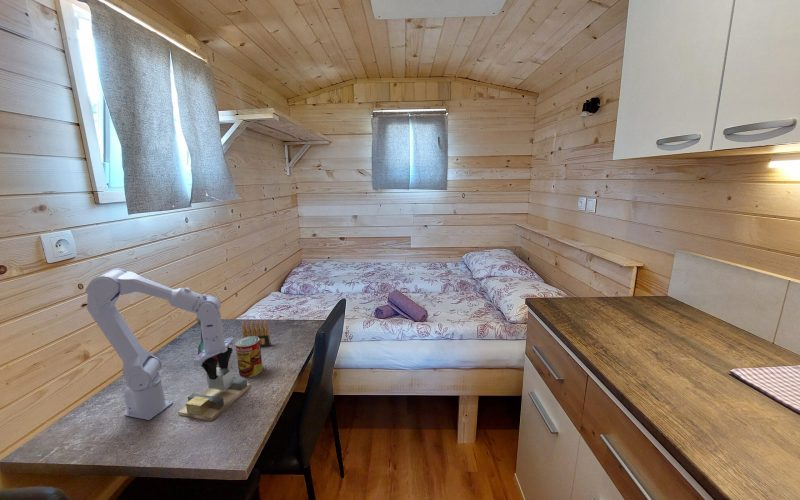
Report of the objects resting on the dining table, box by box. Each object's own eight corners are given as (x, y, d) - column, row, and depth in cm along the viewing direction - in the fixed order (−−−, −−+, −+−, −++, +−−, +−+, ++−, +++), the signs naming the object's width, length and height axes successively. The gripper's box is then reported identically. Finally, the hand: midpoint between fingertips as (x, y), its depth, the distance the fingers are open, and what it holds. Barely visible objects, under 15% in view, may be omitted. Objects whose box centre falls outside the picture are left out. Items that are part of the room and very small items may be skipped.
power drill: (205, 373, 121) (198, 321, 117) (196, 356, 133) (189, 309, 129) (227, 365, 126) (220, 316, 122) (216, 350, 138) (210, 304, 134)
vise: (178, 414, 100) (176, 404, 99) (220, 381, 116) (219, 372, 115) (212, 420, 97) (210, 410, 96) (250, 386, 113) (249, 377, 112)
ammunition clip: (270, 344, 142) (268, 318, 140) (269, 346, 141) (267, 319, 138) (244, 346, 141) (241, 319, 138) (243, 348, 139) (239, 321, 137)
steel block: (224, 390, 105) (222, 376, 104) (208, 387, 106) (206, 373, 105) (233, 383, 109) (232, 369, 108) (217, 380, 110) (216, 366, 109)
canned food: (234, 375, 120) (230, 344, 117) (250, 364, 127) (247, 334, 125) (251, 379, 117) (247, 347, 115) (267, 367, 124) (264, 337, 122)
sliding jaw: (179, 411, 99) (177, 402, 99) (194, 400, 105) (192, 390, 104) (210, 417, 97) (208, 407, 96) (224, 405, 102) (222, 395, 101)
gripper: (205, 347, 96) (211, 389, 99) (240, 326, 110) (244, 364, 113) (185, 345, 98) (191, 386, 101) (222, 324, 112) (227, 361, 114)
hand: (218, 374), depth 107 cm, fingers closed on steel block, 4 cm apart
